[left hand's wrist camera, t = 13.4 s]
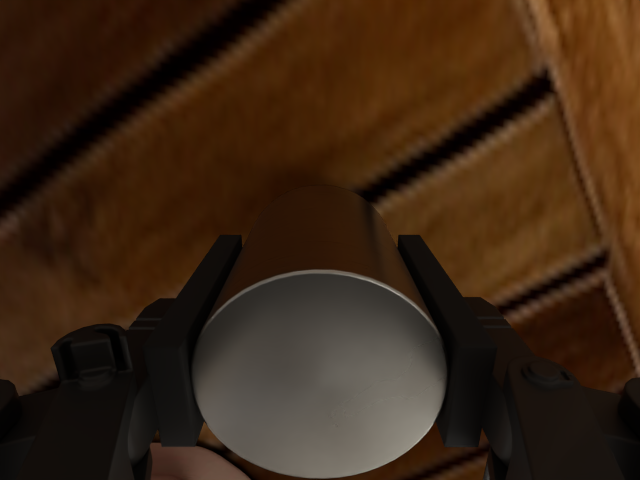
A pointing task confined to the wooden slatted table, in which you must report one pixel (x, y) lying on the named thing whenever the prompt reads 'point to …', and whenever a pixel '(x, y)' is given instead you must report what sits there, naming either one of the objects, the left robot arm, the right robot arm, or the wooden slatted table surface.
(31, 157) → the wooden slatted table surface
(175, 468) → the anatomical model
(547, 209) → the wooden slatted table surface
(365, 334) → the canister
